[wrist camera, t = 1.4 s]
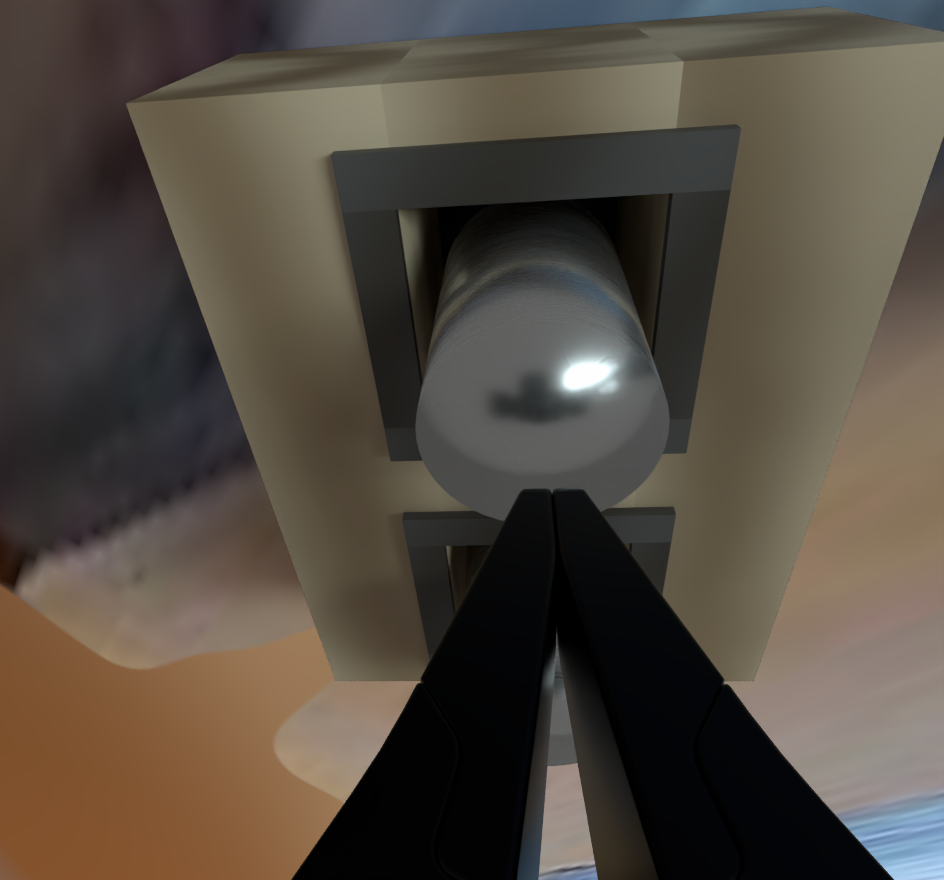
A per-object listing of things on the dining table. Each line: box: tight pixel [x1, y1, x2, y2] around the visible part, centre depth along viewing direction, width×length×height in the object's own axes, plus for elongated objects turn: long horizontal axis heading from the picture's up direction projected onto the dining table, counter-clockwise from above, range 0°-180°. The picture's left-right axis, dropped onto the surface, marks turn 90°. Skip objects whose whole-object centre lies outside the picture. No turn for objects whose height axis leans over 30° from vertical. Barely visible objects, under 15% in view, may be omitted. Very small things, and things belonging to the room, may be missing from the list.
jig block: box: [126, 7, 944, 681], centre depth 18 cm, size 14×18×6 cm
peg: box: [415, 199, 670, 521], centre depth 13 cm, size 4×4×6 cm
